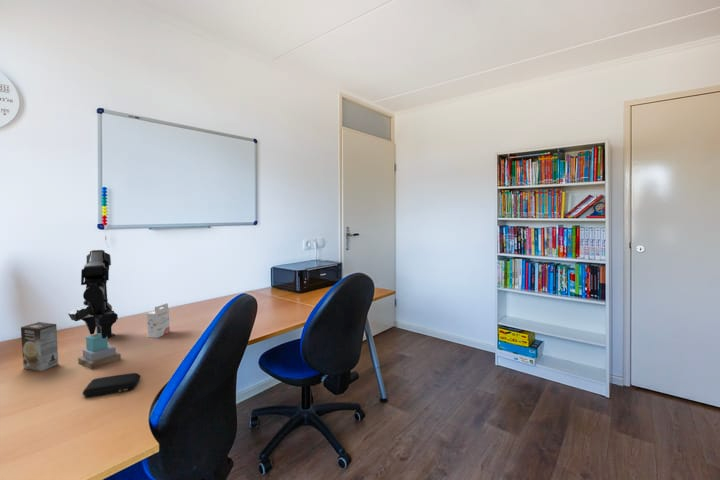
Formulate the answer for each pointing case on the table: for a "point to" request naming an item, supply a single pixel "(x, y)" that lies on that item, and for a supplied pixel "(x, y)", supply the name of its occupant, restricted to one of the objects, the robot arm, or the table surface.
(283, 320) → the table surface
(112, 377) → the carrying case or bag
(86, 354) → the grey slab
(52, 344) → the coffee box
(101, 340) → the teal cube
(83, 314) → the robot arm
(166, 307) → the ink cartridge box
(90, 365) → the tan flat square block
